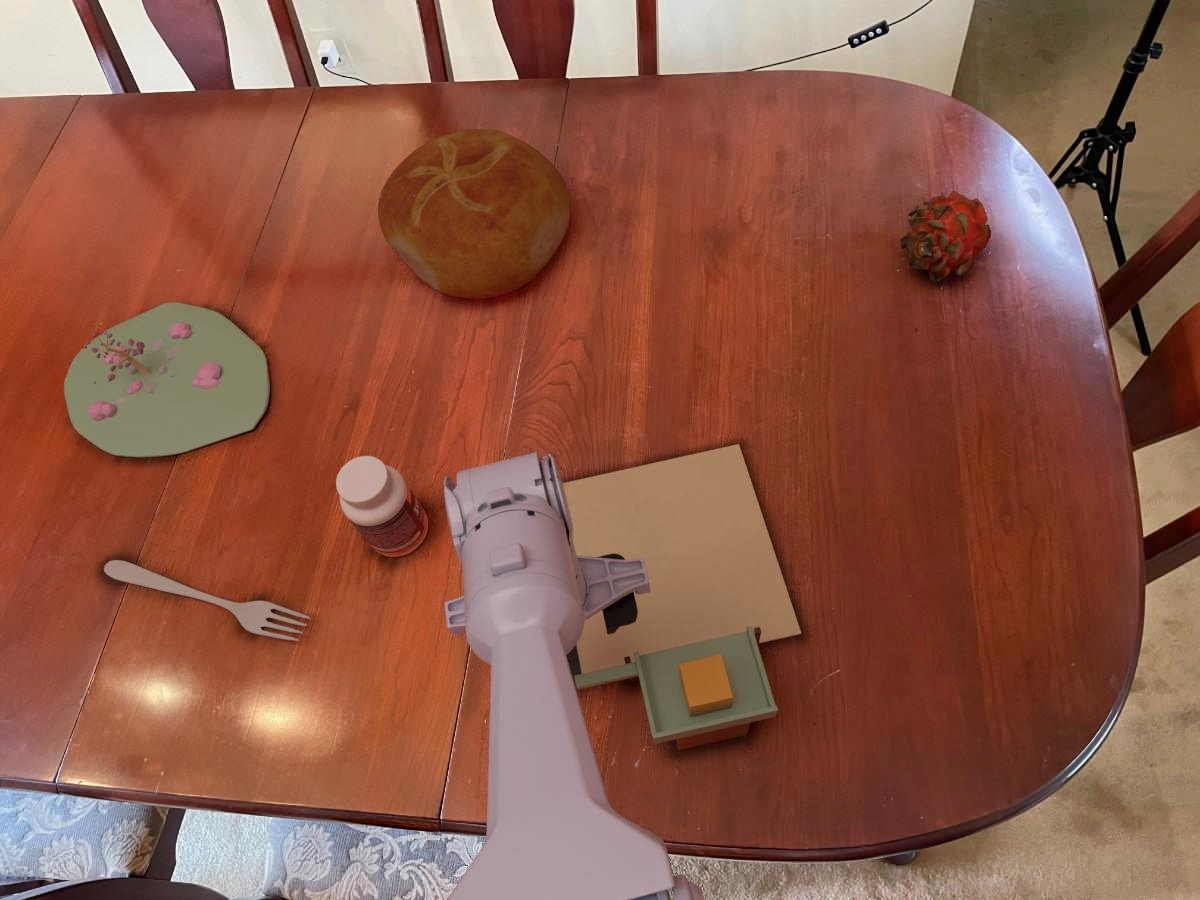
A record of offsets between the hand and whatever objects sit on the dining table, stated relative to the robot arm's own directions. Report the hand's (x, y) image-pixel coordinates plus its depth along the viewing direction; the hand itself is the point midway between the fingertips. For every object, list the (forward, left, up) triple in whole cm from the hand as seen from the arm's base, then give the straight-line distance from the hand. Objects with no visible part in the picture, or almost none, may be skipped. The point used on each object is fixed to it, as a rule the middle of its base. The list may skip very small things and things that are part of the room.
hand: (563, 632), depth 68 cm
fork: (+14, +35, -10) cm, 39 cm away
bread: (+54, +2, -10) cm, 55 cm away
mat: (+8, -10, -9) cm, 16 cm away
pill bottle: (+17, +15, -10) cm, 25 cm away
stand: (-6, -10, -9) cm, 15 cm away
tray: (-5, -7, -4) cm, 9 cm away
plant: (+42, +39, -10) cm, 58 cm away
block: (-6, -10, -3) cm, 12 cm away
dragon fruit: (+36, -48, -10) cm, 61 cm away
